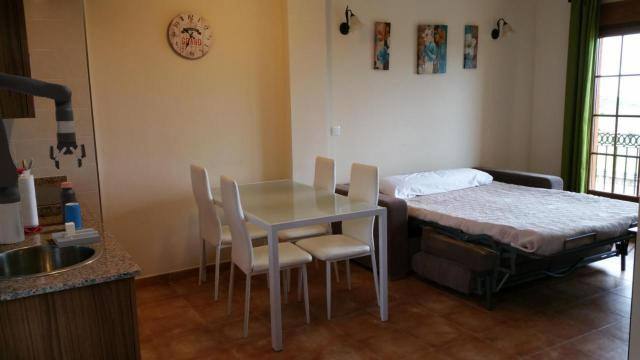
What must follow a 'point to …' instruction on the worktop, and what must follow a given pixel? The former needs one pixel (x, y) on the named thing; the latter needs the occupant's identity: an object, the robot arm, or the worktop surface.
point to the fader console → (76, 237)
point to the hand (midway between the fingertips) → (69, 168)
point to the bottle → (66, 197)
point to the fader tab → (70, 228)
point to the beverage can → (73, 214)
